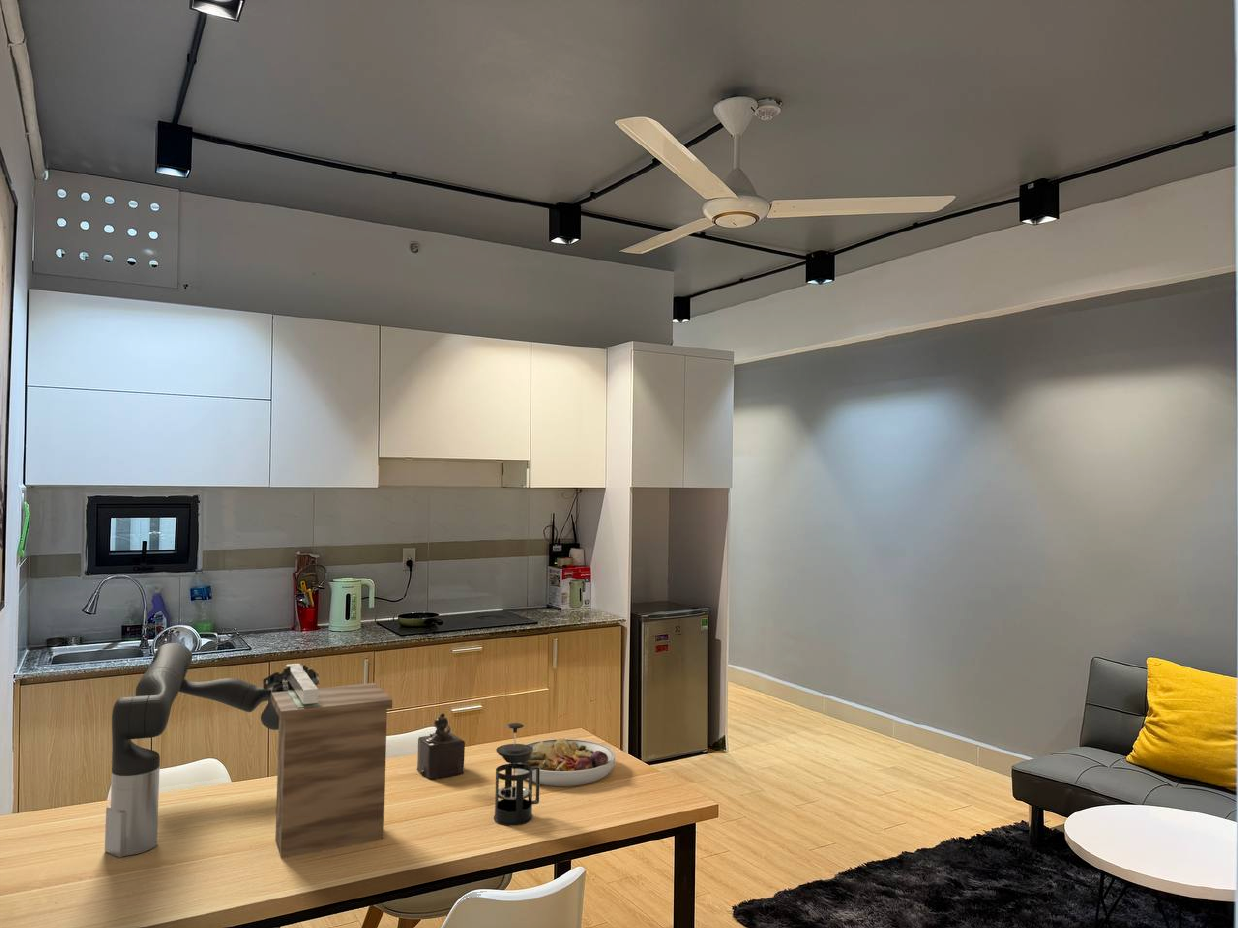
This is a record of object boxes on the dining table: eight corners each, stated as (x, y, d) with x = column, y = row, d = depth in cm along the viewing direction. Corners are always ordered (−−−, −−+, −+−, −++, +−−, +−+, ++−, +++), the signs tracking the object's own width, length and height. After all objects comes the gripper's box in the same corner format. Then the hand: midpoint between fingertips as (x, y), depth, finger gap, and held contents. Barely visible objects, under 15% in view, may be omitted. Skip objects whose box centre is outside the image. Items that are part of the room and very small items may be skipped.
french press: (498, 828, 198) (500, 731, 199) (486, 814, 207) (488, 721, 207) (544, 821, 203) (546, 726, 204) (531, 807, 212) (533, 716, 212)
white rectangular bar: (317, 702, 184) (318, 688, 184) (303, 704, 182) (303, 690, 183) (298, 675, 208) (299, 663, 208) (286, 676, 207) (286, 664, 207)
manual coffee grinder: (413, 770, 238) (415, 707, 238) (449, 763, 244) (451, 701, 245) (435, 786, 225) (437, 719, 226) (472, 779, 231) (474, 714, 232)
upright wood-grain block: (388, 839, 191) (392, 698, 192) (276, 860, 179) (281, 710, 180) (371, 812, 207) (374, 682, 208) (267, 829, 195) (271, 691, 196)
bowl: (489, 777, 234) (490, 749, 234) (547, 749, 260) (548, 723, 260) (581, 798, 220) (582, 768, 220) (632, 765, 246) (633, 738, 246)
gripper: (257, 679, 213) (265, 657, 200) (315, 674, 220) (326, 652, 207) (258, 708, 210) (266, 687, 197) (316, 702, 217) (327, 681, 204)
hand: (296, 669), depth 202 cm, fingers closed on white rectangular bar, 3 cm apart
